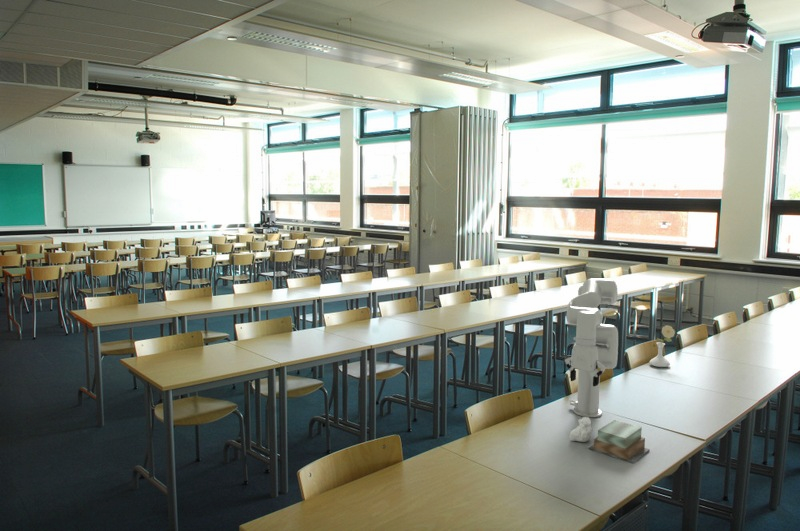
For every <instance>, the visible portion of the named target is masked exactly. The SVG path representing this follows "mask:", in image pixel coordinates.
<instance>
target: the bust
mask: <svg viewBox="0 0 800 531" xmlns="http://www.w3.org/2000/svg"><path fill="white" fill-rule="evenodd" d="M577 422H578V425H577V426H576V428H572V430H571V431H570V433H569V435H568V436H569V437H568V438H569V440H570V441H572V442H578V443H579V442H582V443H585V442H588V441H589V440H590V438H591V436H592V431H593V429H592V426H591V425H592V420H591V419H590V417H583V416H582V418H579V419H577Z"/></svg>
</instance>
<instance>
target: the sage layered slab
mask: <svg viewBox="0 0 800 531" xmlns="http://www.w3.org/2000/svg"><path fill="white" fill-rule="evenodd" d="M645 443H646V438H645V437H642V426H638V425H634V424H631V423H630V424H629V423H626V422H623V421H620V420H616V419H613V421H611V422H609V423H608V424H606V425H604V426H603V427H601V428H599V429H598V430H597V436H596V437H594V439H593V444H592V445H590V446H588V450H590V451H593V452H597V453H599V454H602V455H606V456H609V457H613V458H615V459H618V460H622V461H623V462H624V461H625V462H628V463H631V464H635V463H636V462H638V461H639V460H640V459H642V458H643V457H644V456H645V455H647V454H649V453H650V448H647V447H645V445H646V444H645Z"/></svg>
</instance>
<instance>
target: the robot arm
mask: <svg viewBox="0 0 800 531" xmlns="http://www.w3.org/2000/svg"><path fill="white" fill-rule="evenodd" d="M577 294H578V295H577V296H575V297H573V298H572V299H571V300H570V301H569V302H568V305H567V308H566V314H565V315H566V316H565V317H566V318H565V319H566V321H567V323H568V324H569V325H573V326H576V327H575V328H576V332H575V333H576V334H575V336H573V341H575V343H573V345H572V350H571V356H570V357H568V358H564V362H565V365H566V367H567V368H568V370H569V374H570V375H569V379H570V382H573V381H576V380H577V397H576V398H577V399H576V400H575V399H572V398H571V399H570V400H569V405H570V406H574V408H573V413H574V414H575V415H578V416H580V417H582V418H583V417H589V418H599V417H600V416H602V415H603V411H602V410H601V409H600V408H599V407H600V386H601V385H600V383H601V381H600V379H601V375H602V374H604V372H605V371H606V369H607V370H612V369H615V368H616V367H617V363H618V355H619V354H618V351H619V330H618V328H617V327H616V326H615V325H614V324H605V323H603V320H604V319H603V318H604V316H603V315H604V314H603V313H602V311H601V309H599V306H600V305H614V304H615V303H616V302H617V301H618V295H619V294H618V285H617V284H616V281H614V280H613V279H610V278H588V279H586V280H585V281H583V283H582V285H581V286H579V287H578V290H577ZM597 345H600V346H597ZM601 345H602V346H601ZM605 346H606V347H605ZM599 369H600V370H599ZM577 371H578V372H577ZM577 373H578V374H577ZM577 375H578V376H577Z"/></svg>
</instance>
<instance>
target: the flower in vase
mask: <svg viewBox="0 0 800 531" xmlns="http://www.w3.org/2000/svg"><path fill="white" fill-rule="evenodd" d="M661 328H662V329H661V334H662V335H663V337H664V339H663V340H662V339H660V338H658V337H656V339H657V340H658V341H660V342H655V343H656V346H657V350H658V351H657V355H656V356H655V357H652V358H651V359H650V360H649V365H651V366H653V367H658V368H667V367H670V365H671V362H670V361H669V360H668V359H667V358H666V357H664V356H663V351H664V350H663V348H664V346H665V345H666V343H664V341H666V342H667V343H669V342H670V343H671V342H673V340H672V338H673V337H675V334H676V331H675V329H674V328H673V327H672V326H671V325H668V324H667V325H664V326H662V327H661Z"/></svg>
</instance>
